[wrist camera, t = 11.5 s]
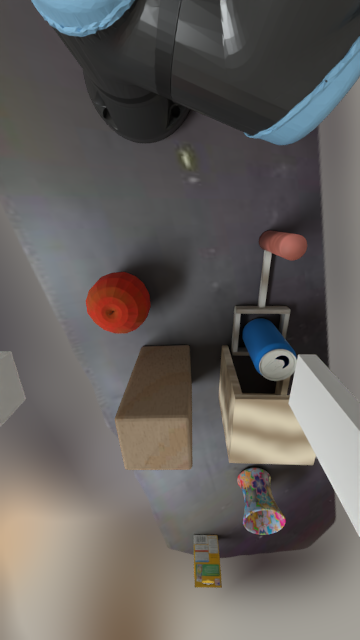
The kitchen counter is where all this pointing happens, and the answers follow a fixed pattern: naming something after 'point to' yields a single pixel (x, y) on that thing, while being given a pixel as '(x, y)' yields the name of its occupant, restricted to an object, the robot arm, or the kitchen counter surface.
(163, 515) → the kitchen counter surface
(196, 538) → the crayon box
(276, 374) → the beverage can
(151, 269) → the kitchen counter surface
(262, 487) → the mug
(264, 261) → the square frame pulling tool
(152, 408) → the wooden block
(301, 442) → the open wooden box
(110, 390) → the kitchen counter surface
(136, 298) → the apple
